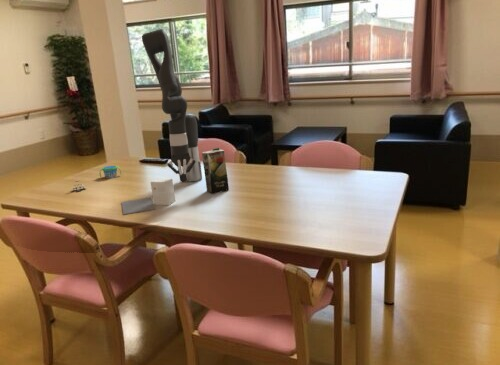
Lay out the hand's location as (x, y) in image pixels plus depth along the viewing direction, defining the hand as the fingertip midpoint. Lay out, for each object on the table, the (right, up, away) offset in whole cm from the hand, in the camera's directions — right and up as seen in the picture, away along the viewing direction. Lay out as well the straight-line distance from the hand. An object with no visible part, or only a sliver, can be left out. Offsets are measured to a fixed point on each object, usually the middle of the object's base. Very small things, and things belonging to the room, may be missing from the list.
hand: (183, 182), depth 180 cm
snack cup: (-48, +1, +47) cm, 67 cm away
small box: (-8, -10, 0) cm, 13 cm away
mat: (-20, -11, -2) cm, 22 cm away
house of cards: (-57, -6, +25) cm, 63 cm away
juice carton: (+14, -4, +12) cm, 19 cm away
